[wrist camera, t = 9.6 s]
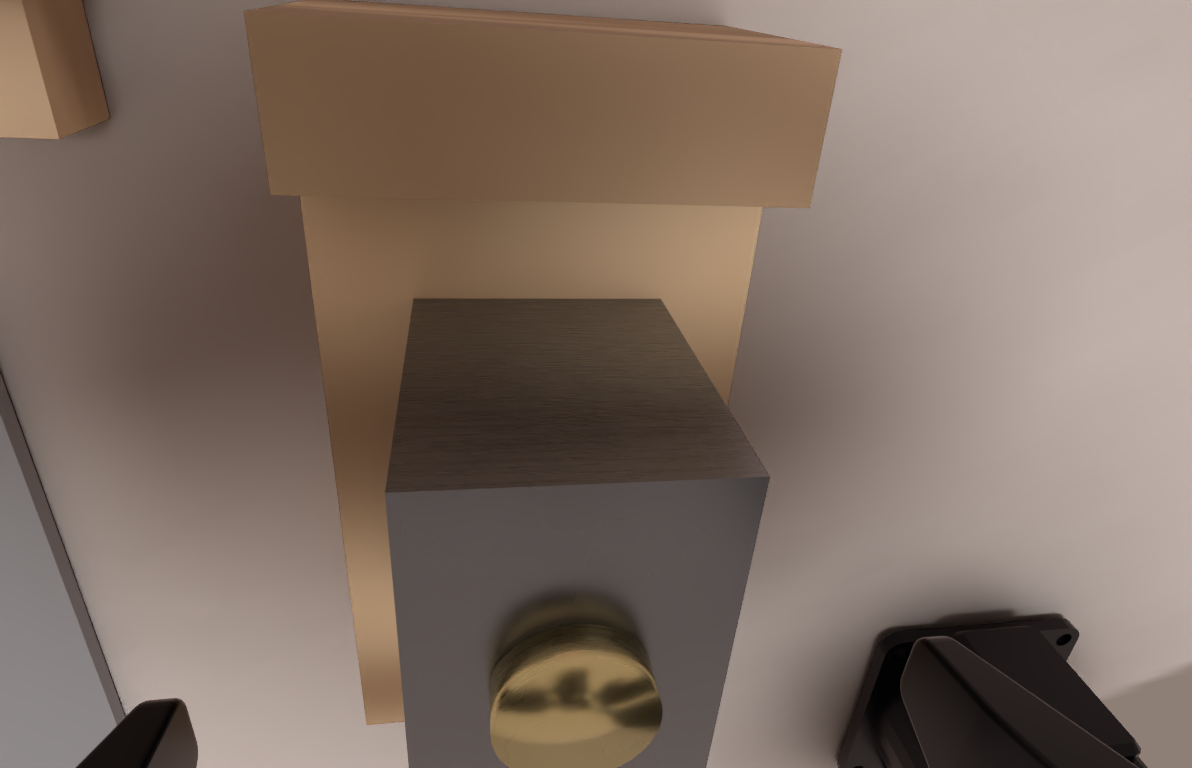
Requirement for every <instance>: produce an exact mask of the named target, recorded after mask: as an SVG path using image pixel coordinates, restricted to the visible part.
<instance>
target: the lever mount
mask: <svg viewBox="0 0 1192 768" xmlns="http://www.w3.org/2000/svg"><path fill="white" fill-rule="evenodd" d="M109 118H110V116H109V112H108V108H107V103H106V99H105V95H104V91H103V87H102V82H101V78H100V74H99V70H98V66H97V61H96V57H95V53H94V49H93V45H92V40H91V36H90V32H89V28H88V24H87V19H86V15H85V11H84V7H83V3H82V0H0V137H9V138H38V139H61V138H64V137H66V136H68V135H71V134H73V133H76V132H78V131H80V130H83V129H85V128H88V127H90V126H92V125H95V124H97V123H100V122H102V121H105V120H107V119H109Z"/></svg>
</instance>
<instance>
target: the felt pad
mask: <svg viewBox="0 0 1192 768" xmlns="http://www.w3.org/2000/svg"><path fill="white" fill-rule="evenodd" d="M124 718H125V715H124V712H123V709H122V706H121V704H120V701H119V698H118V695H117V693H116V690H115V687H114V684H113V682H112V679H111V676H110V673H109V671H108V668H107V665H106V662H105V660H104V657H103V654H102V651H101V649H100V646H99V643H98V640H97V638H96V635H95V632H94V629H93V627H92V624H91V621H90V619H89V616H88V613H87V610H86V608H85V605H84V602H83V599H82V597H81V594H80V591H79V588H78V586H77V583H76V580H75V577H74V575H73V572H72V569H71V566H70V564H69V561H68V558H67V555H66V553H65V550H64V547H63V544H62V542H61V539H60V536H59V533H58V531H57V528H56V525H55V522H54V520H53V517H52V514H51V511H50V509H49V506H48V503H47V500H46V498H45V495H44V492H43V489H42V487H41V484H40V481H39V478H38V476H37V473H36V470H35V467H34V465H33V462H32V459H31V456H30V454H29V451H28V448H27V445H26V443H25V440H24V437H23V434H22V432H21V429H20V426H19V423H18V421H17V418H16V415H15V412H14V410H13V407H12V404H11V401H10V399H9V396H8V393H7V390H6V388H5V385H4V382H3V379H2V377H1V374H0V768H76V767H77V766H78V765H79V763H80V762H81V761H82V760H83V759H84V758H85V757H86V756H87V755H88V754H89V753H90V752H91V751H92V750H93V749H94V748H95V747H96V746H97V745H98V744H99V743H100V742H101V741H102V740H103V739H104V738H105V737H106V736H107V735H108V734H109V733H110V732H111V731H112V730H113V729H114V728H115V727H116V726H117V725H118V724H119V723H120V722H121V721H122V720H123V719H124Z"/></svg>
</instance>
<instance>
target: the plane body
mask: <svg viewBox="0 0 1192 768" xmlns="http://www.w3.org/2000/svg"><path fill="white" fill-rule="evenodd" d="M244 17H245V24H246V31H247V38H248V44H249V51H250V58H251V65H252V72H253V79H254V86H255V93H256V99H257V106H258V113H259V120H260V127H261V134H262V141H263V147H264V154H265V161H266V168H267V175H268V182H269V189H270V195H282V196H300V201H301V209H302V217H303V225H304V233H305V241H306V249H307V257H308V265H309V273H310V281H311V288H312V296H313V304H314V312H315V320H316V328H317V336H318V344H319V352H320V360H321V367H322V375H323V383H324V391H325V399H326V407H327V415H328V423H329V431H330V439H331V446H332V454H333V462H334V470H335V478H336V486H337V494H338V502H339V510H340V518H341V525H342V533H343V541H344V549H345V557H346V565H347V573H348V581H349V589H350V597H351V604H352V612H353V620H354V628H355V636H356V644H357V652H358V660H359V668H360V676H361V684H362V691H363V699H364V707H365V715H366V723H367V725H372V724H383V723H394V722H404V721H405V716H404V705H403V694H402V682H401V671H400V660H399V648H398V637H397V626H396V614H395V603H394V592H393V580H392V569H391V558H390V546H389V535H388V524H387V512H386V501H385V488H386V481H387V475H388V468H389V461H390V454H391V447H392V440H393V434H394V427H395V420H396V413H397V406H398V399H399V393H400V386H401V379H402V372H403V365H404V359H405V352H406V345H407V338H408V331H409V324H410V318H411V311H412V304H413V298H462V299H661V300H662V301H663V303H664V305H665V306H666V308H667V310H668V311H669V313H670V315H671V316H672V318H673V319H674V321H675V323H676V324H677V326H678V328H679V329H680V331H681V332H682V334H683V336H684V337H685V339H686V341H687V342H688V344H689V346H690V347H691V349H692V350H693V352H694V354H695V355H696V357H697V359H698V360H699V362H700V363H701V365H702V367H703V368H704V370H705V372H706V373H707V375H708V377H709V378H710V380H711V381H712V383H713V385H714V386H715V388H716V390H717V391H718V393H719V394H720V396H721V398H722V399H723V401H724V403H725V404H726V406H727V407H728V402H729V396H730V390H731V385H732V379H733V373H734V368H735V362H736V356H737V351H738V345H739V339H740V334H741V328H742V322H743V317H744V311H745V305H746V300H747V294H748V288H749V283H750V277H751V271H752V266H753V260H754V254H755V249H756V243H757V237H758V232H759V226H760V220H761V215H762V209H763V207H785V208H810V203H811V198H812V193H813V188H814V183H815V179H816V174H817V169H818V164H819V159H820V155H821V150H822V145H823V140H824V135H825V130H826V126H827V121H828V116H829V111H830V106H831V101H832V97H833V92H834V87H835V82H836V77H837V72H838V68H839V63H840V58H841V53H842V49H838V48H833V47H828V46H823V45H818V44H813V43H808V42H803V41H798V40H793V39H788V38H783V37H778V36H773V35H768V34H763V33H758V32H753V31H748V30H743V29H738V28H733V27H728V26H716V25H701V24H687V23H672V22H657V21H642V20H627V19H613V18H598V17H583V16H568V15H553V14H539V13H524V12H509V11H494V10H480V9H465V8H450V7H435V6H420V5H406V4H391V3H376V2H361V1H346V0H304V1H298V2H293V3H287V4H281V5H276V6H270V7H264V8H259V9H253V10H247V11H244Z"/></svg>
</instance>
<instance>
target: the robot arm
mask: <svg viewBox="0 0 1192 768" xmlns="http://www.w3.org/2000/svg"><path fill="white" fill-rule="evenodd" d="M1078 637H1079V632H1078V630H1077V629H1076V628H1075V627H1074V626H1073V625H1072V624H1071V623H1070V622H1069V621H1068V620H1067V619H1063V618H1059V619H1046V620H1034V621H1022V622H1010V623H998V624H986V625H974V626H962V627H950V628H938V629H926V630H914V631H902V632H895V633H891V634H889V635H887V636H886V637H885V638H883V639H882V640H881V642H880V643H879V645H878V648H877V651H876V653H875V656H874V659H873V662H872V665H871V667H870V670H869V673H868V676H867V679H866V682H865V684H864V687H863V690H862V693H861V696H860V699H859V701H858V704H857V707H856V710H855V713H854V715H853V718H852V721H851V724H850V727H849V730H848V732H847V735H846V738H845V741H844V744H843V747H842V749H841V752H840V755H839V758H838V761H837V765H838V767H839V768H1147V766H1146V765H1145V764H1144V763H1143V762H1142V761H1141V759H1140V758H1139V757H1138V756H1139V754H1140V751H1141V748H1140V746H1139V745H1138V743H1137V742H1136V741H1135V739H1134V738H1133V737H1132V736H1131V735H1130V734H1129V732H1128V731H1127V730H1126V729H1125V728H1124V727H1123V726H1122V725H1121V723H1120V722H1119V721H1118V720H1117V719H1116V718H1115V717H1114V715H1113V714H1112V713H1111V712H1110V711H1109V710H1108V709H1107V707H1106V706H1105V705H1104V704H1103V703H1102V702H1101V701H1100V699H1099V698H1098V697H1097V696H1096V695H1095V694H1094V693H1093V692H1092V690H1091V689H1090V688H1089V687H1088V686H1087V685H1086V684H1085V682H1084V681H1083V680H1082V679H1081V678H1080V677H1079V676H1078V674H1077V673H1076V672H1075V671H1074V670H1073V669H1072V668H1071V666H1070V665H1069V664H1068V663H1067V662H1066V660H1067V658H1068V656H1069V655H1070V653H1071V651H1072V649H1073V647H1074V645H1075V643H1076V641H1077V640H1078ZM197 760H198V746H197V741H196V738H195V734H194V731H193V728H192V724H191V721H190V717H189V714H188V711H187V707H186V705H185V703H184V702H183V701H182V700H181V699H178V698H172V699H160V700H149V701H145V702H142V703H141V704H139V705H138V706H136V707H135V708H134V709H133V710H132V711H131V712H130V713H129V714H128V715H127V716H126V717H125V718H124V719H123V720H122V721H121V722H120V723H119V724H118V725H117V726H116V727H115V728H114V729H113V730H112V731H111V732H110V733H109V734H108V735H107V736H106V737H105V738H104V739H103V740H102V741H101V742H100V743H99V744H98V745H97V746H96V747H95V748H94V749H93V750H92V751H91V752H90V753H89V754H88V755H87V756H86V757H85V758H84V759H83V760H82V761H81V762H80V763H79V765H78V766H77V767H76V768H196V767H197Z"/></svg>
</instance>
